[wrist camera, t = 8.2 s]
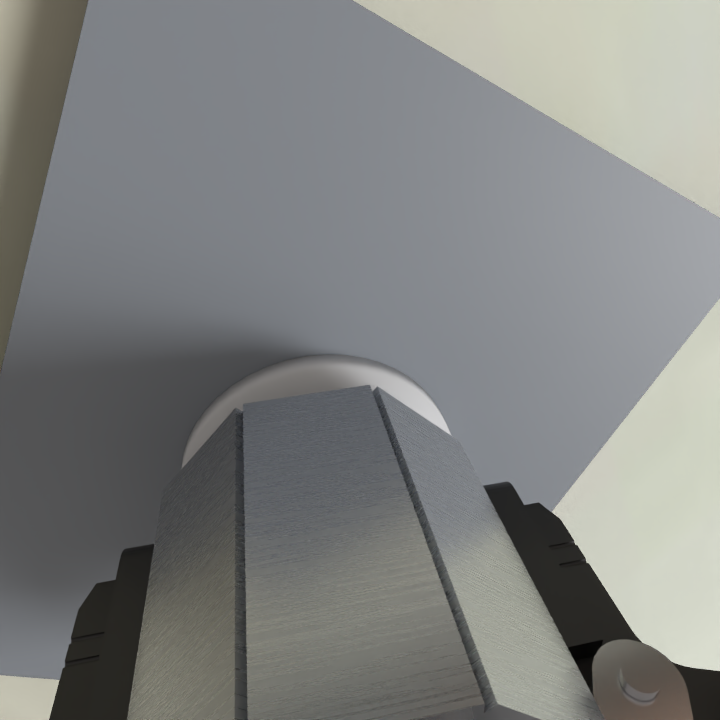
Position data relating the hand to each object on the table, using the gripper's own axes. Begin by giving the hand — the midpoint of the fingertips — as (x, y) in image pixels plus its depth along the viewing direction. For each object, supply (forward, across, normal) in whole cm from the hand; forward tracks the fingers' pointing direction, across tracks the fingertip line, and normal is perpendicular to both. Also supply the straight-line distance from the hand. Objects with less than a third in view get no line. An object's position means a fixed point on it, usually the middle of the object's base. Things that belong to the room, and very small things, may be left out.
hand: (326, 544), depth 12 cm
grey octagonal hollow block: (+1, 0, 0) cm, 1 cm away
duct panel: (+4, 0, 0) cm, 4 cm away
